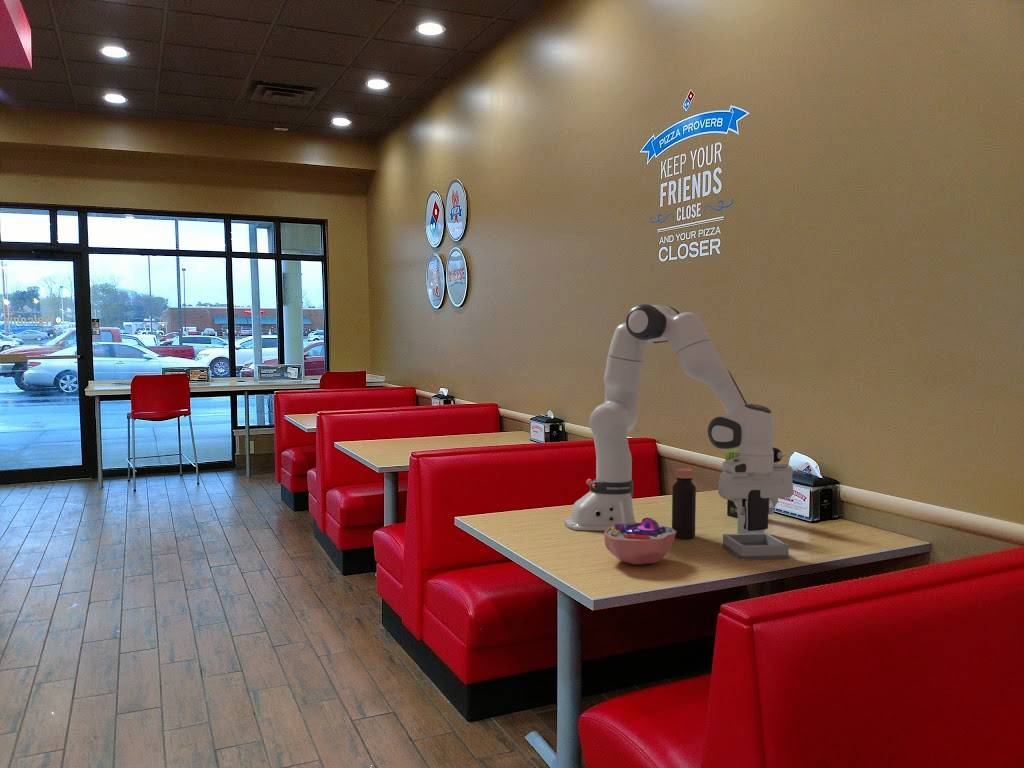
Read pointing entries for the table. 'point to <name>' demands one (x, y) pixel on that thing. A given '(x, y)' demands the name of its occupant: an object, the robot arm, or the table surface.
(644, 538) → the cell model
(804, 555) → the table surface
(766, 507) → the battery charger
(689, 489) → the bottle
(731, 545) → the tray
